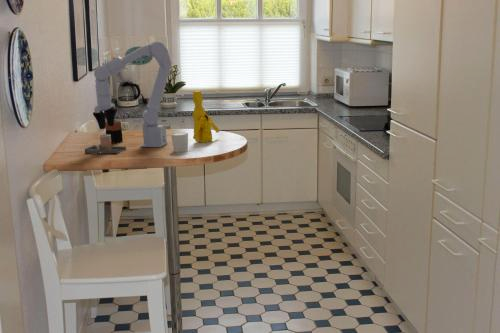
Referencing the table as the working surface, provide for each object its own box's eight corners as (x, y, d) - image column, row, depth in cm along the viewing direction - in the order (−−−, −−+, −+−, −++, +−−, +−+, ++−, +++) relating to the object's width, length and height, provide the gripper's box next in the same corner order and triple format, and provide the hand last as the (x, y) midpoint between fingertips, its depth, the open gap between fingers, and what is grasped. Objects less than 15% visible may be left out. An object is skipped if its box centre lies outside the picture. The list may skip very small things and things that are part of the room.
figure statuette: (197, 145, 267) (194, 93, 263) (183, 144, 272) (180, 93, 267) (223, 138, 281) (220, 89, 277) (209, 137, 286) (206, 88, 281)
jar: (114, 150, 265) (112, 134, 263) (108, 153, 261) (107, 136, 259) (105, 150, 266) (103, 134, 265) (99, 152, 262) (97, 136, 261)
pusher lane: (126, 150, 265) (125, 145, 265) (117, 153, 258) (117, 149, 257) (94, 149, 269) (93, 145, 269) (85, 153, 262) (84, 148, 261)
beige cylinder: (182, 152, 254) (181, 135, 253) (169, 151, 258) (167, 134, 256) (192, 149, 260) (191, 132, 258) (179, 148, 263) (178, 131, 262)
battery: (115, 143, 282) (113, 121, 280) (106, 142, 287) (104, 120, 285) (123, 141, 285) (121, 119, 283) (114, 140, 290) (112, 118, 288)
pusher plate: (105, 150, 266) (104, 143, 266) (98, 152, 261) (98, 145, 261) (103, 150, 267) (103, 143, 266) (97, 152, 262) (96, 145, 261)
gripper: (102, 93, 272) (106, 124, 275) (86, 97, 258) (89, 130, 261) (118, 93, 270) (120, 124, 273) (102, 97, 256) (105, 130, 259)
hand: (106, 127), depth 267 cm, fingers open, 7 cm apart
